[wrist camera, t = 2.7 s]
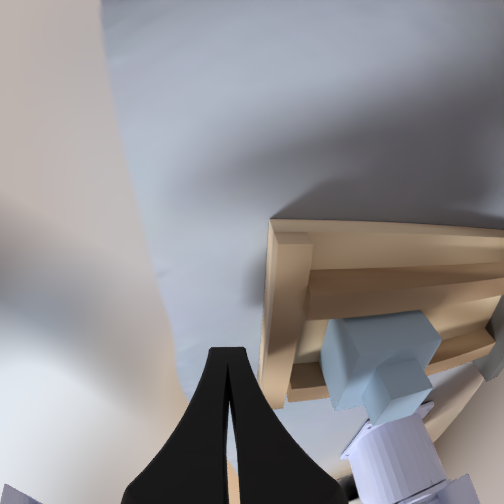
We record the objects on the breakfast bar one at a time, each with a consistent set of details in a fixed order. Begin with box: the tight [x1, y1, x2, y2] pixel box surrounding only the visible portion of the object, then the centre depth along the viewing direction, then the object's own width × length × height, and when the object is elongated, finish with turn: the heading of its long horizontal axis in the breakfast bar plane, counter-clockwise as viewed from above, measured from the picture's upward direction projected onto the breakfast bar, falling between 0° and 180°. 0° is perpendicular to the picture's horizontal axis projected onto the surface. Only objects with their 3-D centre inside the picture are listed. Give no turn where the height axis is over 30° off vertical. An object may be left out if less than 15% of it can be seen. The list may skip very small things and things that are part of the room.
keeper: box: [318, 310, 442, 426], centre depth 11 cm, size 4×4×5 cm
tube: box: [337, 474, 363, 504], centre depth 35 cm, size 5×5×25 cm
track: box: [258, 219, 504, 409], centre depth 12 cm, size 10×18×4 cm, turn 88°
